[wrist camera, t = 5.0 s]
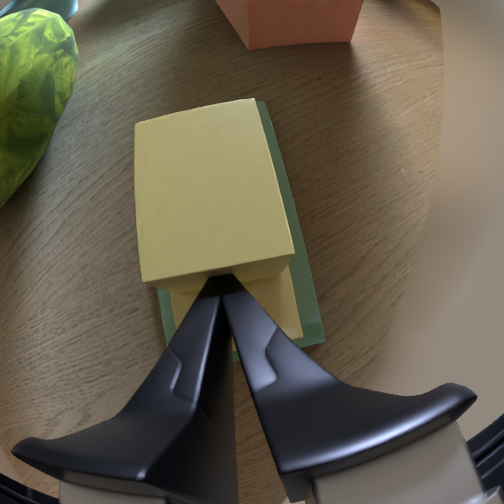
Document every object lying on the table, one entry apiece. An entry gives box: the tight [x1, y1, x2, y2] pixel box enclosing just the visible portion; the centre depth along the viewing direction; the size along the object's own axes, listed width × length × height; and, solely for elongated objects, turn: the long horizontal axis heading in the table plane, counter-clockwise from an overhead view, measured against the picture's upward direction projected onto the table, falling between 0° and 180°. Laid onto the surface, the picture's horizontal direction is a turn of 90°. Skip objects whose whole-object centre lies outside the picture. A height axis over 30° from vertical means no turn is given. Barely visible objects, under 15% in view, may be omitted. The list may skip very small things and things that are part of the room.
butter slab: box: [134, 98, 295, 294], centre depth 11 cm, size 6×5×4 cm
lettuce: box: [0, 8, 78, 208], centre depth 14 cm, size 16×21×15 cm
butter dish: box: [157, 101, 325, 361], centre depth 15 cm, size 17×9×4 cm, turn 11°
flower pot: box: [0, 0, 78, 22], centre depth 21 cm, size 16×16×11 cm
